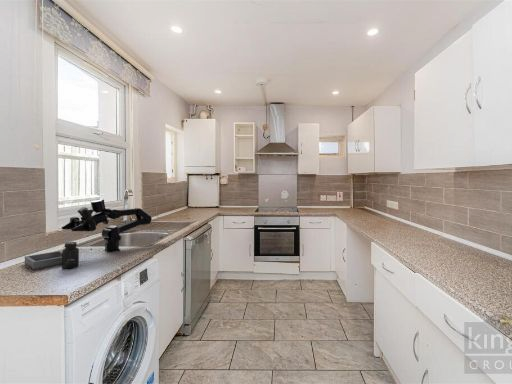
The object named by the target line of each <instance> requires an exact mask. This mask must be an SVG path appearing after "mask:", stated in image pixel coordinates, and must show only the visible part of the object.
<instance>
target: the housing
mask: <svg viewBox="0 0 512 384" xmlns="http://www.w3.org/2000/svg"><path fill="white" fill-rule="evenodd" d="M24 265H25V266H26V267H28V268H29V269H31V270H32V271H39V270H44V269H48V268H54V267H55V268H56V267H59V266H62V250H57V251H55V250H54V251H51V252H49V251H48V252H44V253H38V254H32V255H31V254H30V255H25V256H24Z"/></svg>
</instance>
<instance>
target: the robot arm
mask: <svg viewBox="0 0 512 384" xmlns="http://www.w3.org/2000/svg"><path fill="white" fill-rule="evenodd" d="M90 204H91V208H87V207H84V206H83V207H81V208H79V209H78V210H77V213H78V214H79V215H80V217H77V216H73V217H70V219H69V222H68V223H67V224H65V225H63V226H62V227H61V230H71V232H95V231H96V229H97V226H98V225H99V224H101V223H102V224H103V225H108V224H109V221H110V220H116V219H120V218H121V217H126V216H134V215H135V217H136V218H135V219H133V220H130V221H128V222H125V223H122V224H120V225H114V224H113V225H109V226H106V227H104V228H103V229H102V231H101V236H102V237H103V240H104V241H105V243H104V247H105V248H104V251H105V252H109V253H111V252H116V251H120V250H121V248H120V241H121V239H122V236H121V235H120V234H121V233H124V232H126V231H128V230H131V229H133V228H136V227H138V226H143V225H149V224H151V223H152V221H153V220H152V216H151V215H149V214H148V213H146V212H145V211H144V210H143V209H142V208H140V207H135V208H125V209H112V208H107V207H106V204H105V199H97V200H96V199H95V200H91V201H90ZM93 212H94V213H95V214H93ZM108 219H109V220H108Z"/></svg>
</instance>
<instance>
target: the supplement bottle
mask: <svg viewBox="0 0 512 384" xmlns="http://www.w3.org/2000/svg"><path fill="white" fill-rule="evenodd" d="M77 246H78V243H77V242H76V241H70V242H69V241H68V242H65V243H64V248H63V249H62V250H61V251H62V265H61V268H62V269H63V270H73V269H77V268H78V267H79V266H80V249H79V248H78V247H77Z"/></svg>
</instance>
